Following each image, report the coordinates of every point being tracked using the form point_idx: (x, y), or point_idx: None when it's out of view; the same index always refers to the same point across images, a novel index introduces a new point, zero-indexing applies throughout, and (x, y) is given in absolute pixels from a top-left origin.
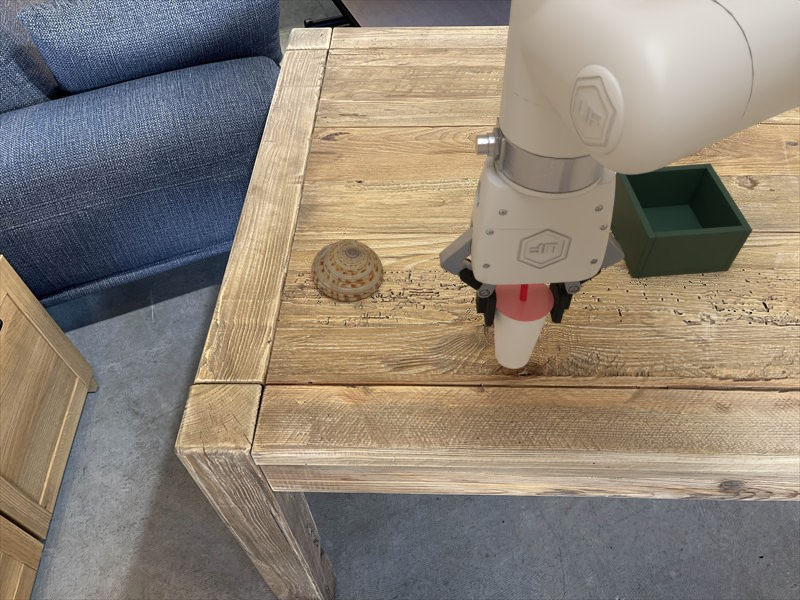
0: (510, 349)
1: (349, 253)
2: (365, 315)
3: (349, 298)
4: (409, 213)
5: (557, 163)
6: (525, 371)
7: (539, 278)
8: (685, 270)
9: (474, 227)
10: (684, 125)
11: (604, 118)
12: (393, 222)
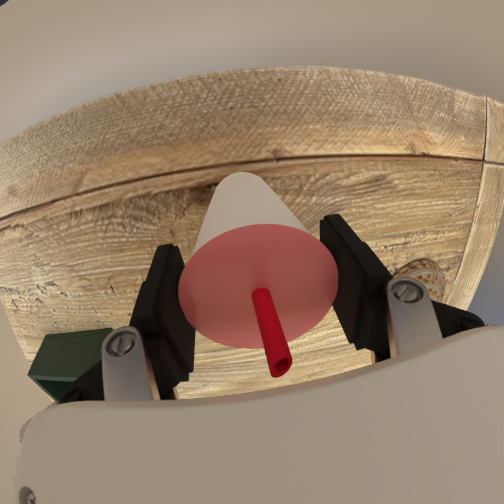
0: (258, 186)
1: None
2: (405, 246)
3: (419, 263)
4: (343, 361)
5: None
6: (214, 190)
7: (277, 438)
8: (70, 336)
9: None
10: None
11: None
12: (360, 350)
